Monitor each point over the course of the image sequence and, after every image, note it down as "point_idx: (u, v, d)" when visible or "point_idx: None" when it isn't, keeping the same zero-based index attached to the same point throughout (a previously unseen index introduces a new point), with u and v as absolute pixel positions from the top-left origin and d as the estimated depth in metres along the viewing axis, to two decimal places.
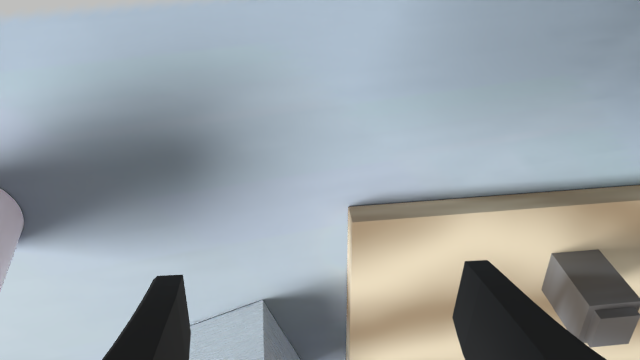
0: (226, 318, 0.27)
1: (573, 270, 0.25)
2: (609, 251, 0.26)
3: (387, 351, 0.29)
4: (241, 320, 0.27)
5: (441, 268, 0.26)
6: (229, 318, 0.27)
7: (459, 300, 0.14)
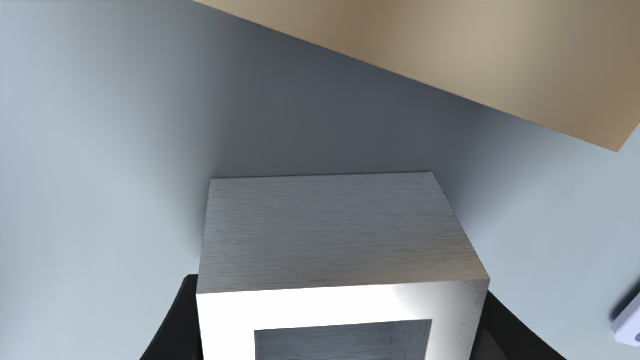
0: None
1: None
2: None
3: None
4: None
5: None
6: None
7: None
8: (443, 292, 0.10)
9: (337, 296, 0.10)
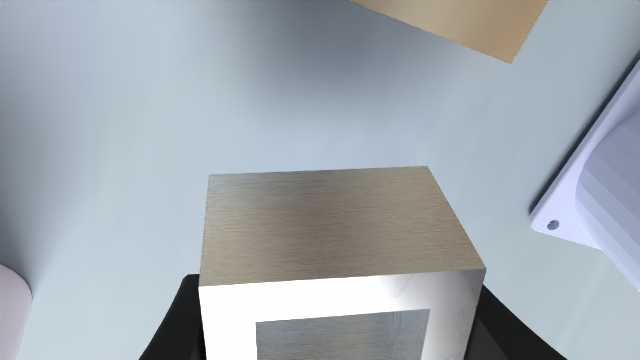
0: None
1: None
2: None
3: None
4: None
5: None
6: None
7: None
8: (440, 282, 0.11)
9: (337, 287, 0.10)
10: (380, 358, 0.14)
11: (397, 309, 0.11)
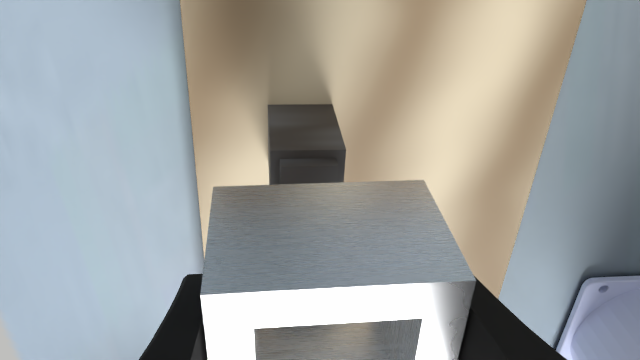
0: None
1: None
2: (273, 88, 0.19)
3: None
4: None
5: None
6: None
7: None
8: (432, 293, 0.11)
9: (332, 296, 0.11)
10: None
11: (390, 318, 0.11)
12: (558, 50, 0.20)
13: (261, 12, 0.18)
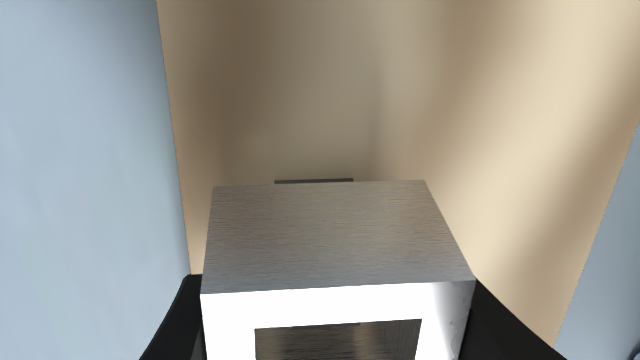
0: None
1: None
2: (280, 162, 0.16)
3: None
4: None
5: None
6: None
7: None
8: (432, 292, 0.11)
9: (333, 296, 0.11)
10: None
11: (390, 318, 0.11)
12: (627, 110, 0.16)
13: (266, 75, 0.14)
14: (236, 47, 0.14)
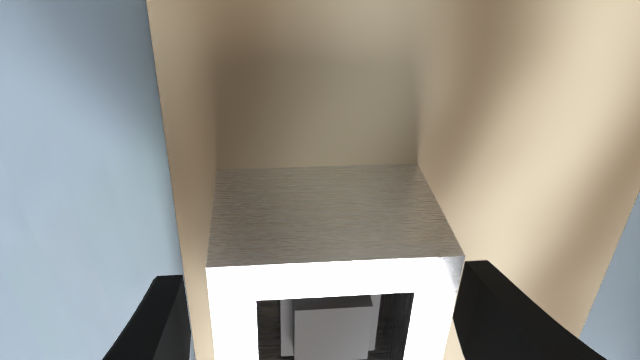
0: None
1: None
2: None
3: None
4: None
5: None
6: None
7: (459, 300, 0.14)
8: (424, 268, 0.12)
9: (330, 270, 0.12)
10: None
11: (384, 292, 0.12)
12: None
13: (266, 91, 0.13)
14: (234, 61, 0.13)
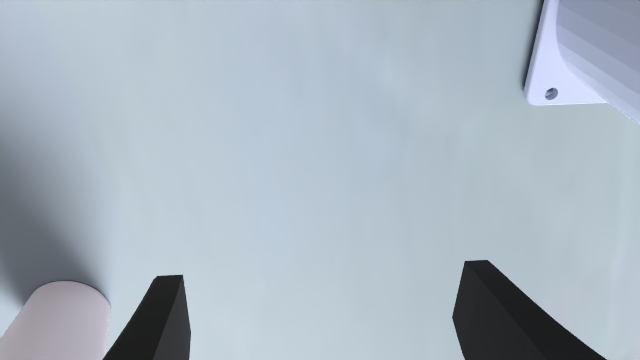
0: None
1: None
2: None
3: None
4: None
5: None
6: None
7: (459, 300, 0.14)
8: None
9: None
10: None
11: None
12: None
13: None
14: None
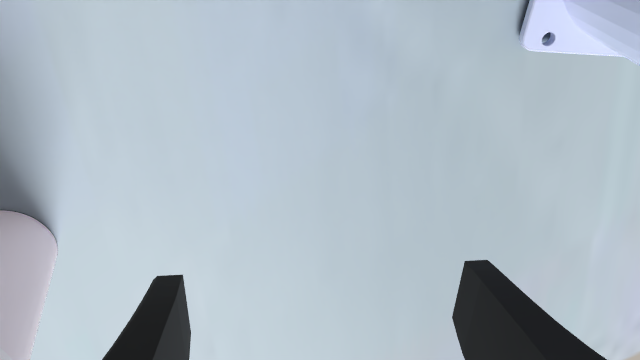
0: None
1: None
2: None
3: None
4: None
5: None
6: None
7: (459, 300, 0.14)
8: None
9: None
10: None
11: None
12: None
13: None
14: None
